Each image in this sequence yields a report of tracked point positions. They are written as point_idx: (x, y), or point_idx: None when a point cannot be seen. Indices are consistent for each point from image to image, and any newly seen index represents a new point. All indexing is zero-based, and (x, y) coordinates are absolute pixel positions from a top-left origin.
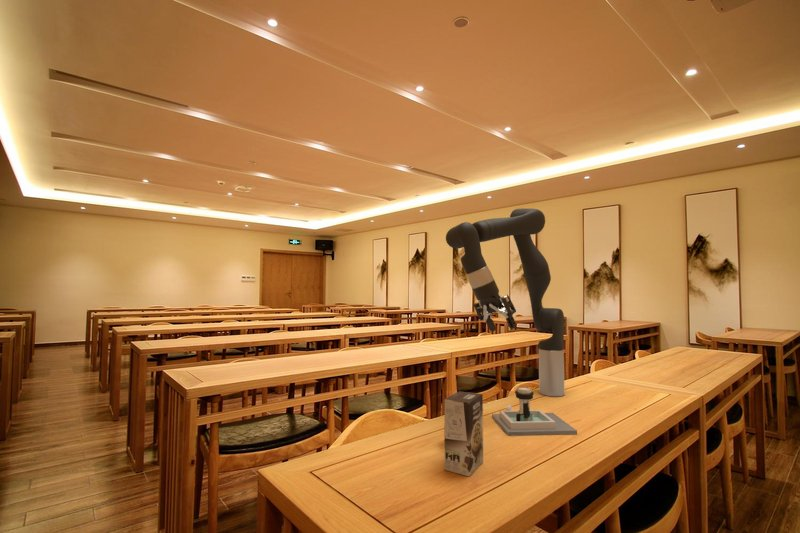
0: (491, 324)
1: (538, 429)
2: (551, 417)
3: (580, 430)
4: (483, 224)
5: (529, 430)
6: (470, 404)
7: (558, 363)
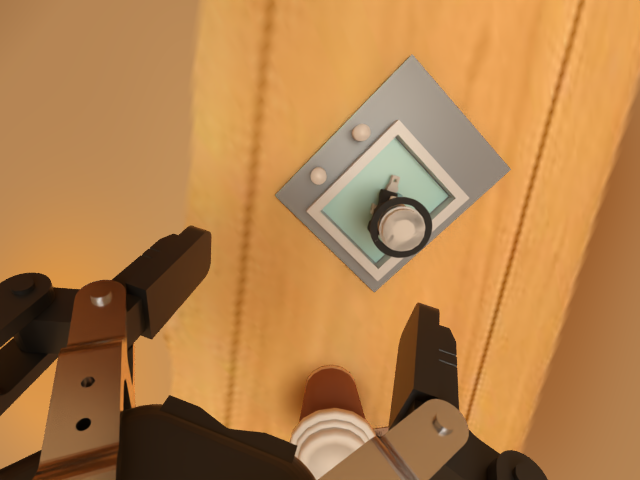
0: (176, 288)
1: None
2: (423, 106)
3: (507, 133)
4: None
5: None
6: None
7: None
